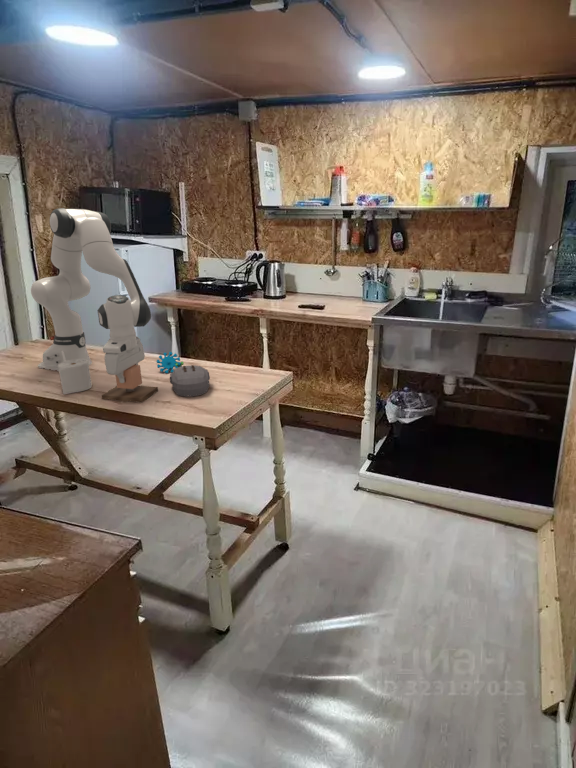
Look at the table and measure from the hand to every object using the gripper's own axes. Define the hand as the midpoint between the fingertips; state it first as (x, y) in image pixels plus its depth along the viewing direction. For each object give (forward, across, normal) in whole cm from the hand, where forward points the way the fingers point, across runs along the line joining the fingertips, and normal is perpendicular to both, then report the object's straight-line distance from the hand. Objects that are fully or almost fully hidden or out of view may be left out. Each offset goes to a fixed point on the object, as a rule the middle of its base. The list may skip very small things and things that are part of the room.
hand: (128, 378), depth 180 cm
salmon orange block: (+3, 0, 0) cm, 3 cm away
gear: (+7, -29, +2) cm, 30 cm away
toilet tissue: (+6, -2, -24) cm, 25 cm away
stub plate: (+6, 0, 0) cm, 6 cm away
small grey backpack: (+7, -10, +19) cm, 23 cm away
